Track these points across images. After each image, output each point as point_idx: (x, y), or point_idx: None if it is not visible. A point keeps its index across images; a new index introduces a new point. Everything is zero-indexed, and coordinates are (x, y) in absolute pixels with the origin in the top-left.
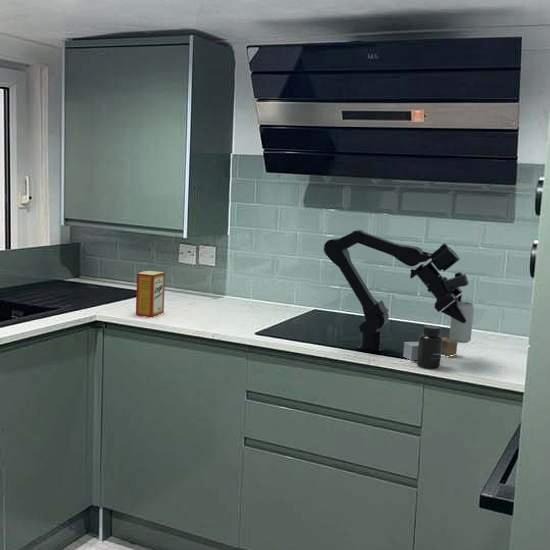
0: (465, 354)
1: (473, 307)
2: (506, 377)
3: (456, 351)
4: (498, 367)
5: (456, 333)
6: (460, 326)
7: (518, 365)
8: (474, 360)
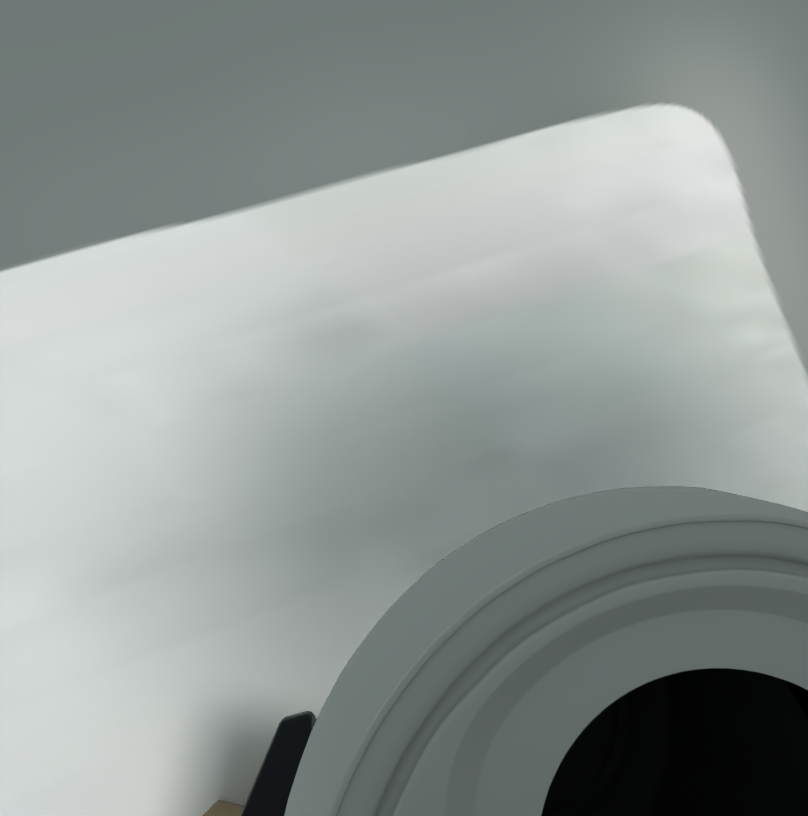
0: (105, 739)
1: (547, 517)
2: (622, 196)
3: (206, 813)
4: (369, 334)
5: (713, 729)
6: (760, 687)
7: (178, 243)
8: (284, 576)
